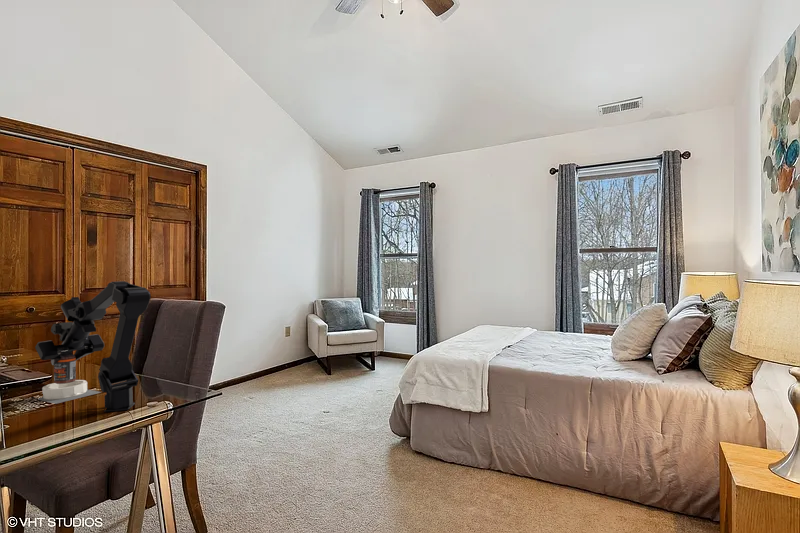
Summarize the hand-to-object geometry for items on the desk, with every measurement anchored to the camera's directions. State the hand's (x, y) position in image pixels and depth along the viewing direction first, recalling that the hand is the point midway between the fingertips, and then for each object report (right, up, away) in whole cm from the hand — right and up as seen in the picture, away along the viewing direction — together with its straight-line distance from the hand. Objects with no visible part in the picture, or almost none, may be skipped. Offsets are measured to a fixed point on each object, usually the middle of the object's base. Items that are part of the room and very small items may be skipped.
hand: (63, 362), depth 152 cm
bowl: (+1, -11, -1) cm, 11 cm away
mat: (+1, -11, -1) cm, 12 cm away
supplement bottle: (+1, -7, -1) cm, 7 cm away
